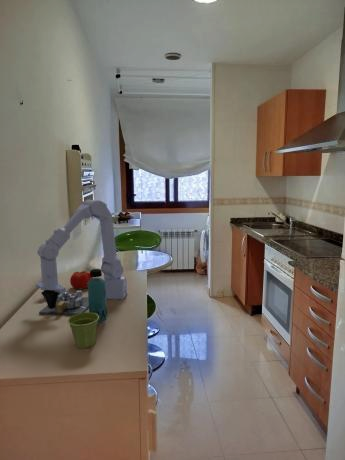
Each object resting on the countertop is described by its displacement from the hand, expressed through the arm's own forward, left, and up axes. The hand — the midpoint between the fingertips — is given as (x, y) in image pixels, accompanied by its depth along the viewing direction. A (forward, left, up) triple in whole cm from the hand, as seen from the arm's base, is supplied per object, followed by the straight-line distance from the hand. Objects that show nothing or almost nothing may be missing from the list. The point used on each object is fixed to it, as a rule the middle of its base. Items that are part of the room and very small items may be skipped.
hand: (52, 308), depth 130 cm
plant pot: (-23, +23, -2) cm, 32 cm away
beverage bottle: (-22, +8, -2) cm, 23 cm away
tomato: (0, -31, -2) cm, 31 cm away
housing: (-4, -6, -2) cm, 8 cm away
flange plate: (-4, -6, -2) cm, 8 cm away
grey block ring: (-4, -5, -1) cm, 6 cm away
